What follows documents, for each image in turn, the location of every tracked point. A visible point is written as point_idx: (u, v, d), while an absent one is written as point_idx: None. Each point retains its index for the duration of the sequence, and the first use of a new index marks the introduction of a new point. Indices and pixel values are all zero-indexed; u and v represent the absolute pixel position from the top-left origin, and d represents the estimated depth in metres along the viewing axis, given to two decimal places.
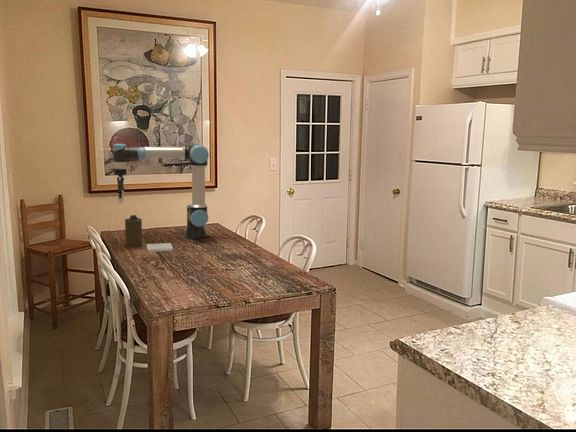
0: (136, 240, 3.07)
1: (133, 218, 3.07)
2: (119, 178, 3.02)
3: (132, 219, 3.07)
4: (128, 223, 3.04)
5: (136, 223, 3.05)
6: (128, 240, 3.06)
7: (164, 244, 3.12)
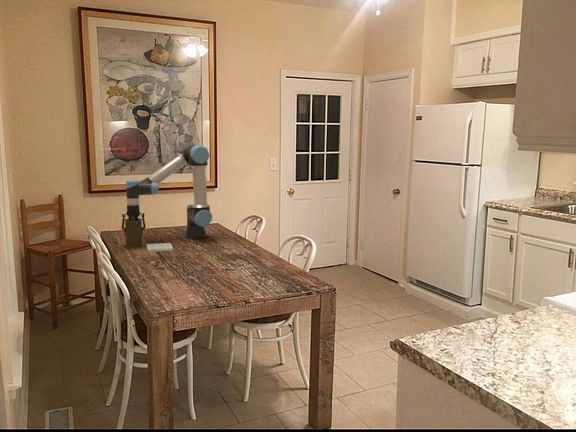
0: (136, 240, 3.07)
1: (133, 218, 3.07)
2: (122, 215, 3.06)
3: (132, 219, 3.07)
4: (128, 223, 3.04)
5: (136, 223, 3.05)
6: (128, 240, 3.06)
7: (164, 244, 3.12)
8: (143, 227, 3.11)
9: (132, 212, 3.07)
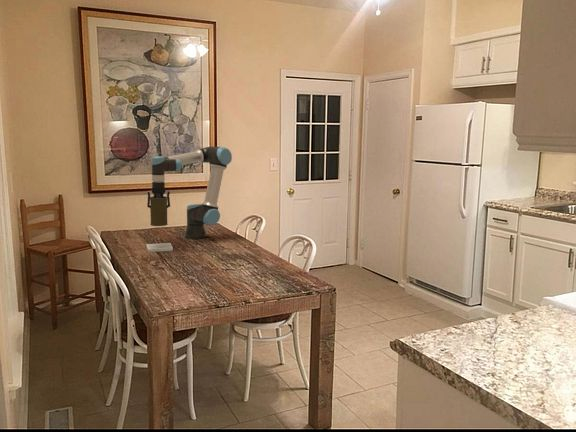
0: (161, 218, 3.00)
1: (158, 195, 3.00)
2: None
3: (157, 197, 3.00)
4: (154, 200, 2.97)
5: (162, 200, 2.98)
6: (153, 218, 2.99)
7: (164, 244, 3.12)
8: (167, 205, 3.04)
9: (157, 189, 3.00)
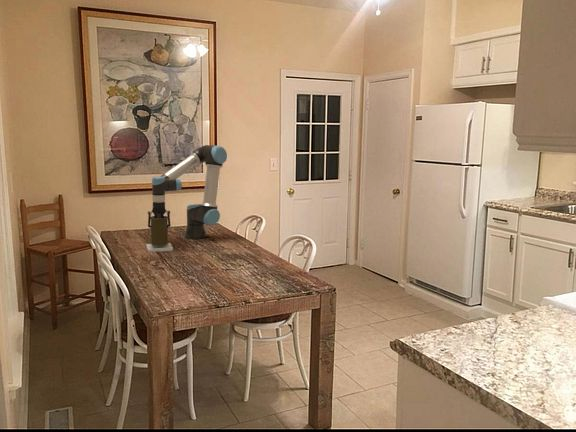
0: (162, 237, 3.02)
1: (159, 215, 3.02)
2: (148, 213, 3.02)
3: (158, 216, 3.02)
4: (154, 221, 3.00)
5: (162, 221, 3.00)
6: (154, 238, 3.02)
7: None
8: (168, 225, 3.06)
9: (158, 209, 3.02)
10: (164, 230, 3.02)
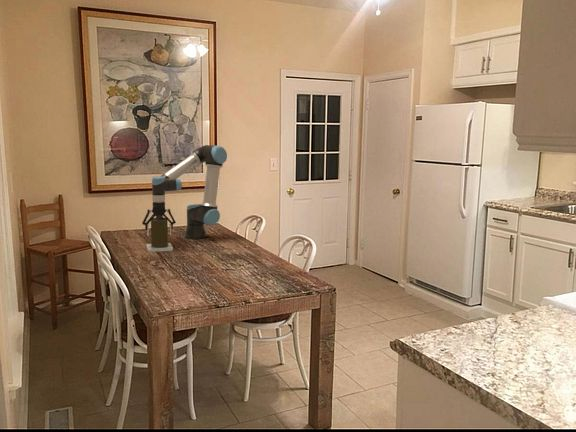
0: (162, 239, 3.02)
1: (159, 217, 3.02)
2: (147, 210, 3.01)
3: (158, 218, 3.02)
4: (154, 222, 3.00)
5: (162, 222, 3.01)
6: (154, 240, 3.02)
7: None
8: (173, 222, 3.07)
9: (158, 211, 3.02)
10: (164, 232, 3.02)
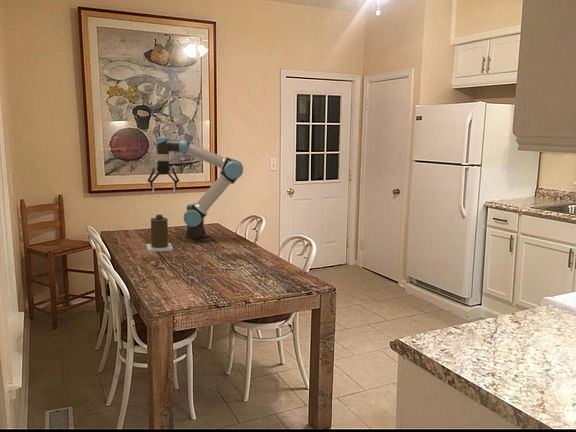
0: (162, 239, 3.02)
1: (159, 217, 3.02)
2: (152, 169, 3.19)
3: (158, 218, 3.02)
4: (154, 222, 3.00)
5: (162, 222, 3.01)
6: (154, 240, 3.02)
7: None
8: (177, 180, 3.25)
9: (162, 169, 3.20)
10: (164, 232, 3.02)
